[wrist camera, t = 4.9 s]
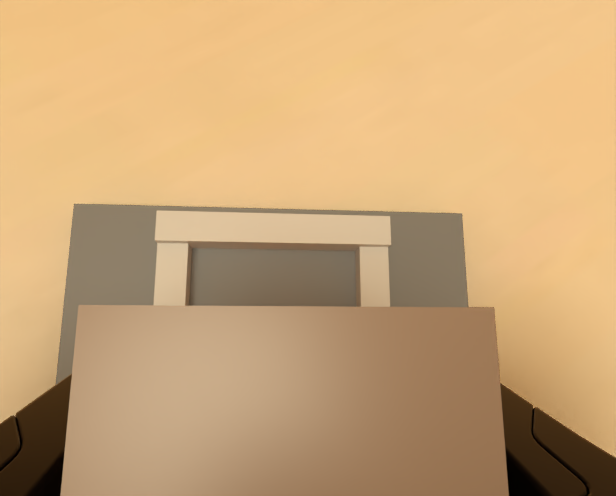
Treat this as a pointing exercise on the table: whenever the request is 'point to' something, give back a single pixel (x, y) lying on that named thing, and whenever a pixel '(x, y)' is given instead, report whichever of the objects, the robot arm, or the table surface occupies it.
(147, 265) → the board
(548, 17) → the table surface
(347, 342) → the fader tab
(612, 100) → the table surface
